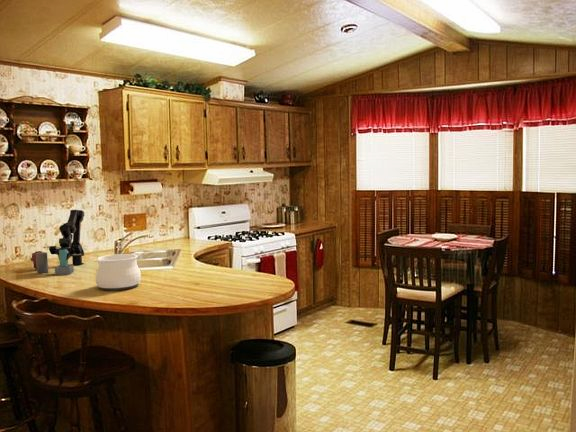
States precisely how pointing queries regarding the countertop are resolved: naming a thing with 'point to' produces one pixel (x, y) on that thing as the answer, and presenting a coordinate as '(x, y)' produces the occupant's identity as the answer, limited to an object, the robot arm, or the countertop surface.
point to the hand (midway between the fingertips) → (63, 260)
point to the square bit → (63, 258)
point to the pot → (118, 272)
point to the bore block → (64, 270)
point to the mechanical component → (35, 259)
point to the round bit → (42, 262)
